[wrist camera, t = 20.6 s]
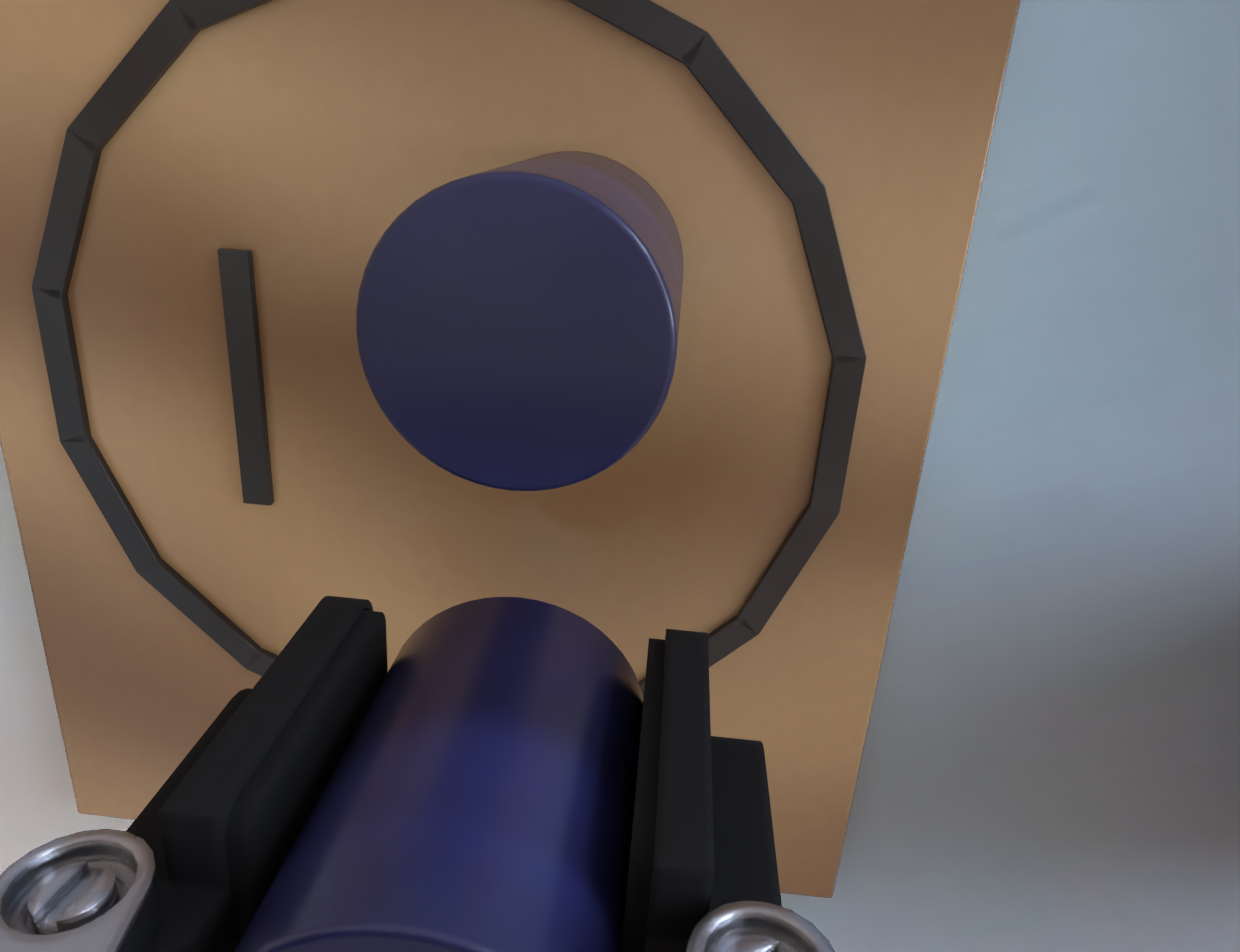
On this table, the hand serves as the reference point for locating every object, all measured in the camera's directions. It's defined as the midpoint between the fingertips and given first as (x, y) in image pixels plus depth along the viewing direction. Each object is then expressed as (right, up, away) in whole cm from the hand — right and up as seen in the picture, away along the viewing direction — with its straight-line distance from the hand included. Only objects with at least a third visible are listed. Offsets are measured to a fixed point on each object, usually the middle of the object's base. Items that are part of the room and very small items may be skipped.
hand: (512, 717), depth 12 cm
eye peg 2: (0, 0, 0) cm, 0 cm away
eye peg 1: (+1, +6, +2) cm, 7 cm away
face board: (-2, +5, +4) cm, 6 cm away
